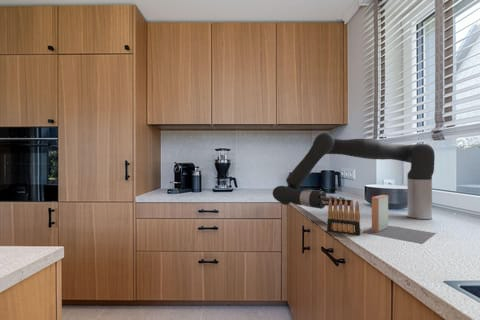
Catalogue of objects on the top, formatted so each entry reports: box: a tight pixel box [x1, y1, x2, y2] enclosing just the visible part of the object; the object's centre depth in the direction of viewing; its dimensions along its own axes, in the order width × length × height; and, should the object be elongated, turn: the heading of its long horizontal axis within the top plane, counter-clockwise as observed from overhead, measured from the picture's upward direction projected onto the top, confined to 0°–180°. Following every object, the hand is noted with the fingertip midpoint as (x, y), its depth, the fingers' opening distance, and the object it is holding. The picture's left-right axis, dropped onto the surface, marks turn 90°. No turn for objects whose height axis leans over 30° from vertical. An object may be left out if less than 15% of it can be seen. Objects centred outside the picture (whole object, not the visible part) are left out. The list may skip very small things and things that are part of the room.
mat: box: [360, 225, 437, 245], centre depth 94 cm, size 18×18×1 cm
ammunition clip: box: [326, 199, 361, 236], centre depth 94 cm, size 11×2×12 cm, turn 60°
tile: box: [371, 194, 389, 232], centre depth 98 cm, size 10×2×12 cm, turn 133°
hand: (352, 203), depth 106 cm, fingers closed
